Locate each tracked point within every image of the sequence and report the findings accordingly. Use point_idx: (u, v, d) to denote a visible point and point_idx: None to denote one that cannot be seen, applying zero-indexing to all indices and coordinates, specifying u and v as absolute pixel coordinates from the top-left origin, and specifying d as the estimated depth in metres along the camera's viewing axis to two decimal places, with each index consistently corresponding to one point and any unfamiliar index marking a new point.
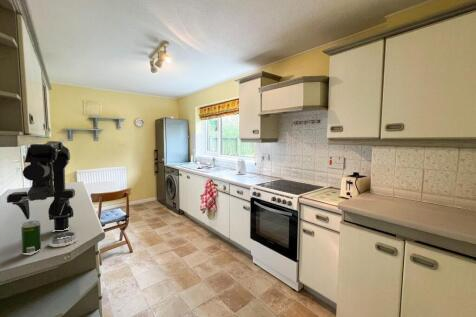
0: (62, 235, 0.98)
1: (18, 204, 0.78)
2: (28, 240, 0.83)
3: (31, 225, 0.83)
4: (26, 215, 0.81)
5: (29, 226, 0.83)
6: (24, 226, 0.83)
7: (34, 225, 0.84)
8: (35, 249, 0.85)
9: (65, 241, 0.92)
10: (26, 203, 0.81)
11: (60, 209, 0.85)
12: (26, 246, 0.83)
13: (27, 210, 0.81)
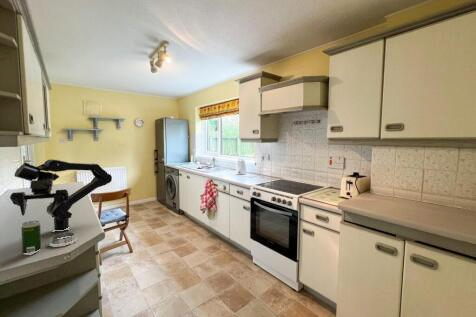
0: (62, 235, 0.98)
1: (18, 199, 0.91)
2: (28, 240, 0.83)
3: (31, 225, 0.83)
4: (22, 210, 0.90)
5: (29, 226, 0.83)
6: (24, 226, 0.83)
7: (34, 225, 0.84)
8: (35, 249, 0.85)
9: (65, 241, 0.92)
10: (24, 202, 0.93)
11: (53, 205, 0.95)
12: (26, 246, 0.83)
13: (24, 207, 0.92)
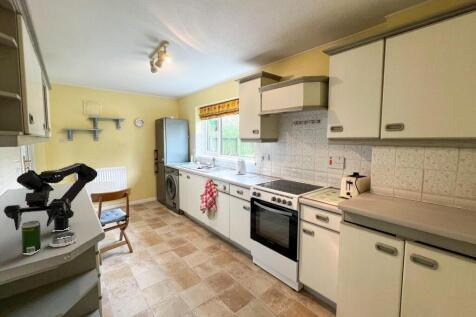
0: (62, 235, 0.98)
1: (13, 212, 0.86)
2: (28, 240, 0.83)
3: (31, 225, 0.84)
4: (16, 225, 0.85)
5: (29, 226, 0.83)
6: (24, 226, 0.83)
7: (34, 225, 0.84)
8: (35, 249, 0.85)
9: (65, 241, 0.92)
10: (19, 216, 0.88)
11: (49, 218, 0.90)
12: (26, 246, 0.83)
13: (18, 221, 0.87)
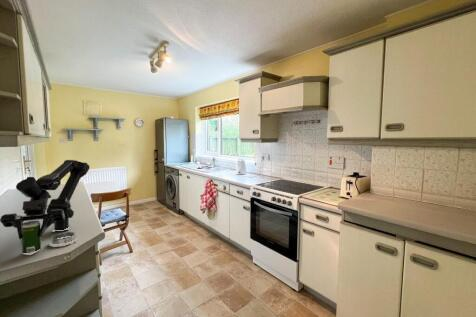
0: (62, 235, 0.98)
1: (16, 221, 0.84)
2: (28, 240, 0.83)
3: (31, 225, 0.83)
4: (19, 233, 0.83)
5: (29, 226, 0.83)
6: (24, 226, 0.83)
7: (34, 225, 0.84)
8: (35, 249, 0.85)
9: (65, 241, 0.92)
10: None
11: (42, 228, 0.87)
12: (26, 246, 0.83)
13: None
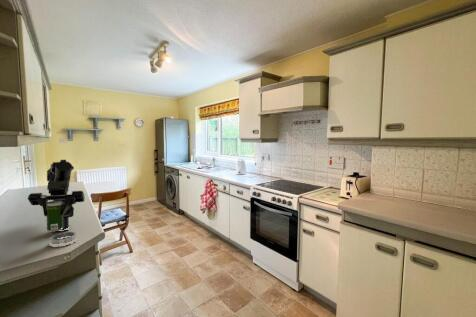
0: (62, 235, 0.98)
1: (41, 199, 0.91)
2: (52, 218, 0.90)
3: (55, 204, 0.90)
4: (44, 211, 0.90)
5: (53, 205, 0.90)
6: (48, 204, 0.90)
7: (57, 204, 0.91)
8: (58, 226, 0.92)
9: (65, 241, 0.92)
10: None
11: (64, 207, 0.94)
12: (50, 223, 0.90)
13: None
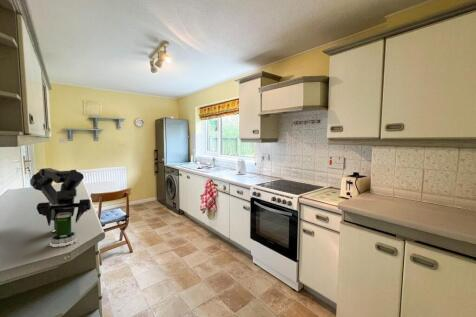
0: None
1: (45, 209, 0.93)
2: (61, 229, 0.93)
3: (64, 216, 0.93)
4: (48, 220, 0.92)
5: (62, 216, 0.93)
6: (58, 216, 0.92)
7: (67, 216, 0.94)
8: None
9: (65, 241, 0.92)
10: (50, 213, 0.95)
11: (78, 215, 0.97)
12: (60, 234, 0.93)
13: (50, 217, 0.93)
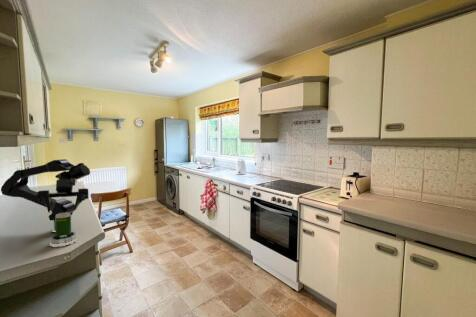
0: None
1: (44, 196, 0.96)
2: (61, 229, 0.93)
3: (64, 216, 0.93)
4: (48, 207, 0.95)
5: (62, 217, 0.93)
6: (58, 217, 0.92)
7: (66, 216, 0.94)
8: None
9: (65, 241, 0.92)
10: (49, 200, 0.98)
11: (76, 203, 1.01)
12: (60, 234, 0.93)
13: (49, 205, 0.97)
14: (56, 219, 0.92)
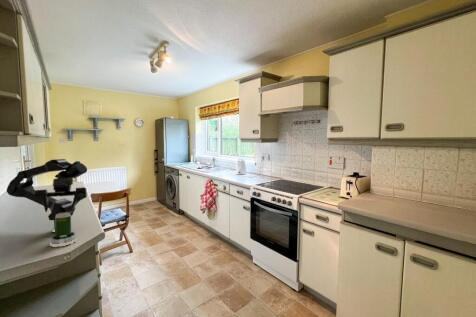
0: None
1: (42, 196, 0.96)
2: (61, 229, 0.93)
3: (64, 216, 0.93)
4: (45, 207, 0.95)
5: (62, 217, 0.93)
6: (58, 217, 0.92)
7: (66, 216, 0.94)
8: None
9: (65, 241, 0.92)
10: (47, 200, 0.98)
11: (74, 202, 1.00)
12: (60, 234, 0.93)
13: (47, 204, 0.96)
14: (56, 219, 0.92)
